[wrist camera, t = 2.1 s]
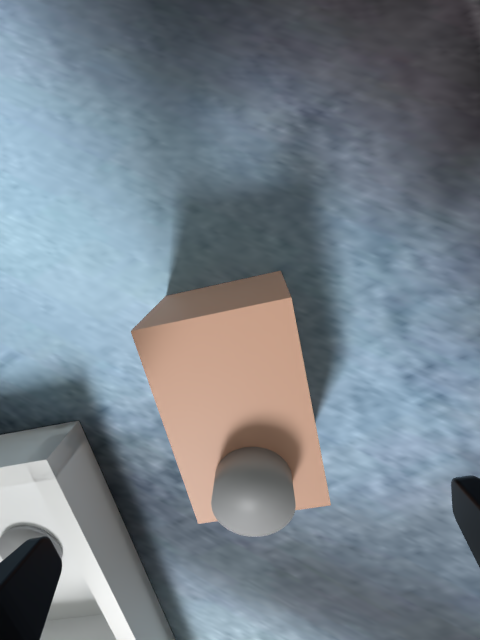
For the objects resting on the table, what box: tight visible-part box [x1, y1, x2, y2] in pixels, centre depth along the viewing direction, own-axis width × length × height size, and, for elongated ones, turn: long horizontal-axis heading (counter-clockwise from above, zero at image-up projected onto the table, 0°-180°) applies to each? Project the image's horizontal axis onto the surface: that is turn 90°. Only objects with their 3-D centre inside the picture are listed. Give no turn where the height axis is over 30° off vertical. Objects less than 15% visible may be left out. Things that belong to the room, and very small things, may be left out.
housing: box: [0, 421, 175, 640], centre depth 17 cm, size 9×23×2 cm, turn 13°
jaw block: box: [131, 271, 331, 537], centre depth 11 cm, size 4×7×5 cm, turn 13°
